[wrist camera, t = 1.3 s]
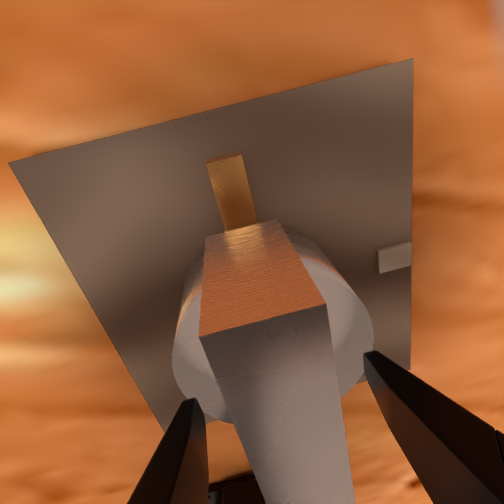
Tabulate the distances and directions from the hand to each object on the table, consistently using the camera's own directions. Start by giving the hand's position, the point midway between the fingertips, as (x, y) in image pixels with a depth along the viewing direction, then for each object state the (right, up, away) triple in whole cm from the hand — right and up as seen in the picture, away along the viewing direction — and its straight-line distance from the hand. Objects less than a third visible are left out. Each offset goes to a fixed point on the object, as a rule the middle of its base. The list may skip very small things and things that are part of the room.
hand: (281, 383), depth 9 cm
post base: (-1, +3, +6) cm, 7 cm away
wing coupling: (-1, +2, +4) cm, 5 cm away
